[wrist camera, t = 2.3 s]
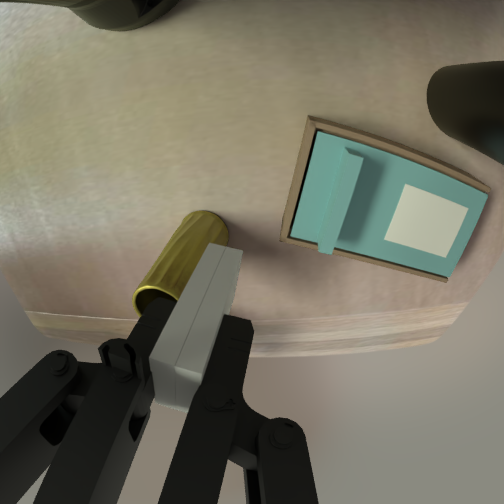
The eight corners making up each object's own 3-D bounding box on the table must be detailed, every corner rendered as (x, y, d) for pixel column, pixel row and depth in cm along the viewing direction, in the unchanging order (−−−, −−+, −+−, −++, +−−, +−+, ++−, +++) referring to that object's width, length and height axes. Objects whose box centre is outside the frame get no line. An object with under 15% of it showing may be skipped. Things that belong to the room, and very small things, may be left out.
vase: (237, 224, 35) (202, 303, 23) (217, 262, 38) (181, 345, 26) (190, 201, 34) (133, 268, 22) (174, 241, 38) (122, 315, 25)
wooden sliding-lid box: (307, 115, 28) (309, 119, 23) (468, 173, 27) (490, 188, 23) (282, 219, 34) (279, 241, 30) (432, 259, 33) (446, 282, 29)
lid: (317, 130, 24) (320, 136, 21) (485, 192, 24) (502, 206, 20) (290, 233, 30) (289, 252, 27) (447, 273, 29) (459, 293, 26)
